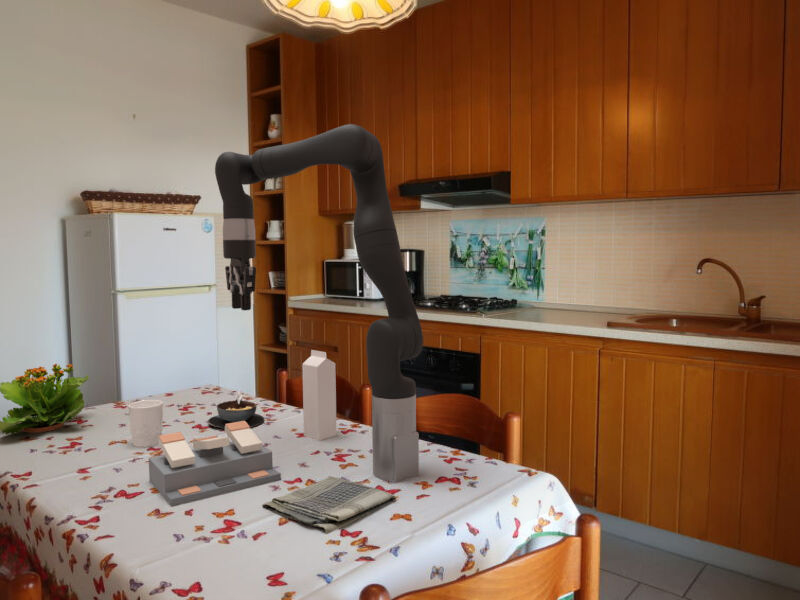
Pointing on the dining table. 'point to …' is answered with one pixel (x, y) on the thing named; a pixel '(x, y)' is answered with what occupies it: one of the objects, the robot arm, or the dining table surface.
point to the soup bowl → (236, 413)
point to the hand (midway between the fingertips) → (241, 308)
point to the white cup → (146, 422)
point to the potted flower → (42, 400)
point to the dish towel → (330, 503)
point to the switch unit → (211, 473)
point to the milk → (319, 396)
